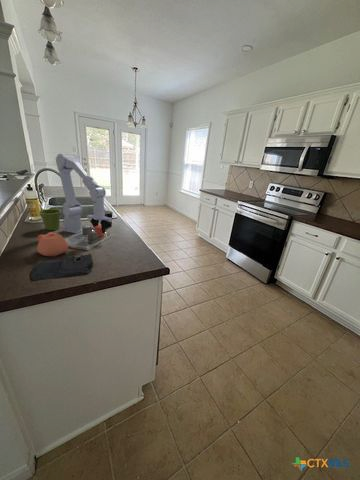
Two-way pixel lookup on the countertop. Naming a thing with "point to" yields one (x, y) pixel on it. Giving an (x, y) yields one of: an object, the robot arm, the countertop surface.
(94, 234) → the block
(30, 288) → the countertop surface
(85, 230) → the breaker
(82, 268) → the dark slate chunk
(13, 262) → the countertop surface
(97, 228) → the red cube
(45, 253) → the sugar bowl
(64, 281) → the countertop surface
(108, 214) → the coffee mug
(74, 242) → the breaker panel
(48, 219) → the plant pot
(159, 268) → the countertop surface
